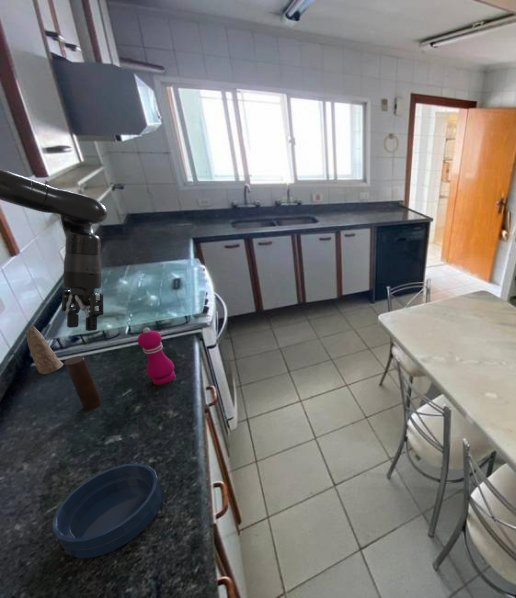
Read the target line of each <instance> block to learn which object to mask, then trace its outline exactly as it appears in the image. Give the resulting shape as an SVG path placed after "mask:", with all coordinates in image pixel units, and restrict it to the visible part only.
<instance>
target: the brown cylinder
mask: <svg viewBox="0 0 516 598" xmlns="http://www.w3.org/2000/svg"><path fill="white" fill-rule="evenodd" d="M63 365H64V366H65V368H66V370H67V373H68V375H69V377H70V379H71V383H72V385H73V387H74V389H75V391H76V394H77V396H78V399H79V400H80V403H81V405H82V408H83V409H84V410H85V411H90V410H94V409H96V408H98V407H99V406H101V405H102V402H103V401H102V399H101V397H100V394H99V391H98V389H97V386H96V384H95V381H94V379H93V377H92V374H91V371H90V369H89V367H88V363H87V361H86V359H85V357H84V356H82V355H76V356H72V357H70V358H67V359H66V360H65V361H64V363H63Z"/></svg>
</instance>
